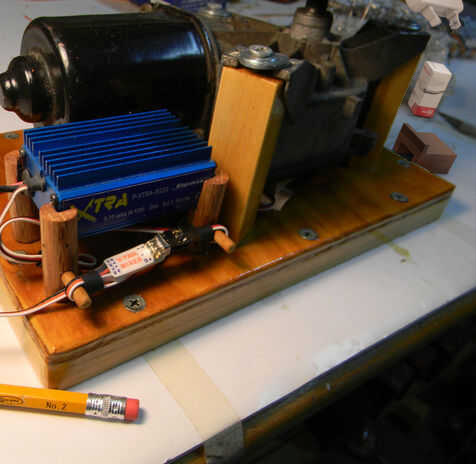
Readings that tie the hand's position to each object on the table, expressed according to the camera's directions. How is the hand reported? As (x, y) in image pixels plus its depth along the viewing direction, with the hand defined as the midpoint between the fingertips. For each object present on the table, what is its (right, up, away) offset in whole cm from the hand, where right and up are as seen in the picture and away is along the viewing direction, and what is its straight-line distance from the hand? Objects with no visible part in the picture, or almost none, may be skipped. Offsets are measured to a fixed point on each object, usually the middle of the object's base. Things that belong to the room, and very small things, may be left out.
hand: (447, 26), depth 117 cm
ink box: (-1, -18, +10) cm, 21 cm away
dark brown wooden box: (-14, -35, -12) cm, 40 cm away
